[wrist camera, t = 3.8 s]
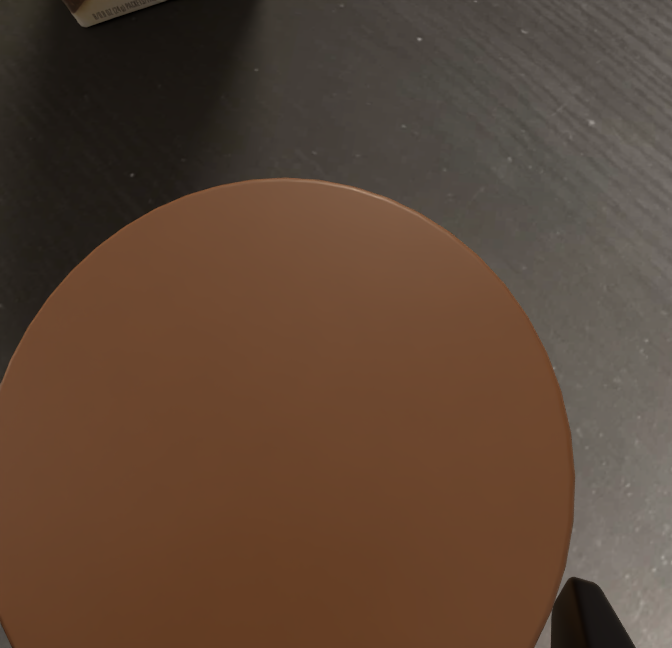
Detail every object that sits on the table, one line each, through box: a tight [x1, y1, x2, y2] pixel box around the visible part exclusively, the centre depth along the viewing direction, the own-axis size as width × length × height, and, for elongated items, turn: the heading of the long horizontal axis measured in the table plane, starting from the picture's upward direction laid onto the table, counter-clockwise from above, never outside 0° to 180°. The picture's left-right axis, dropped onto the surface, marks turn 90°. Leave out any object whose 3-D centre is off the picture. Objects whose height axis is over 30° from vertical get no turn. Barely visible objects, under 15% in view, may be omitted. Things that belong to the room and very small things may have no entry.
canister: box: [0, 178, 575, 648], centre depth 11 cm, size 6×6×13 cm
